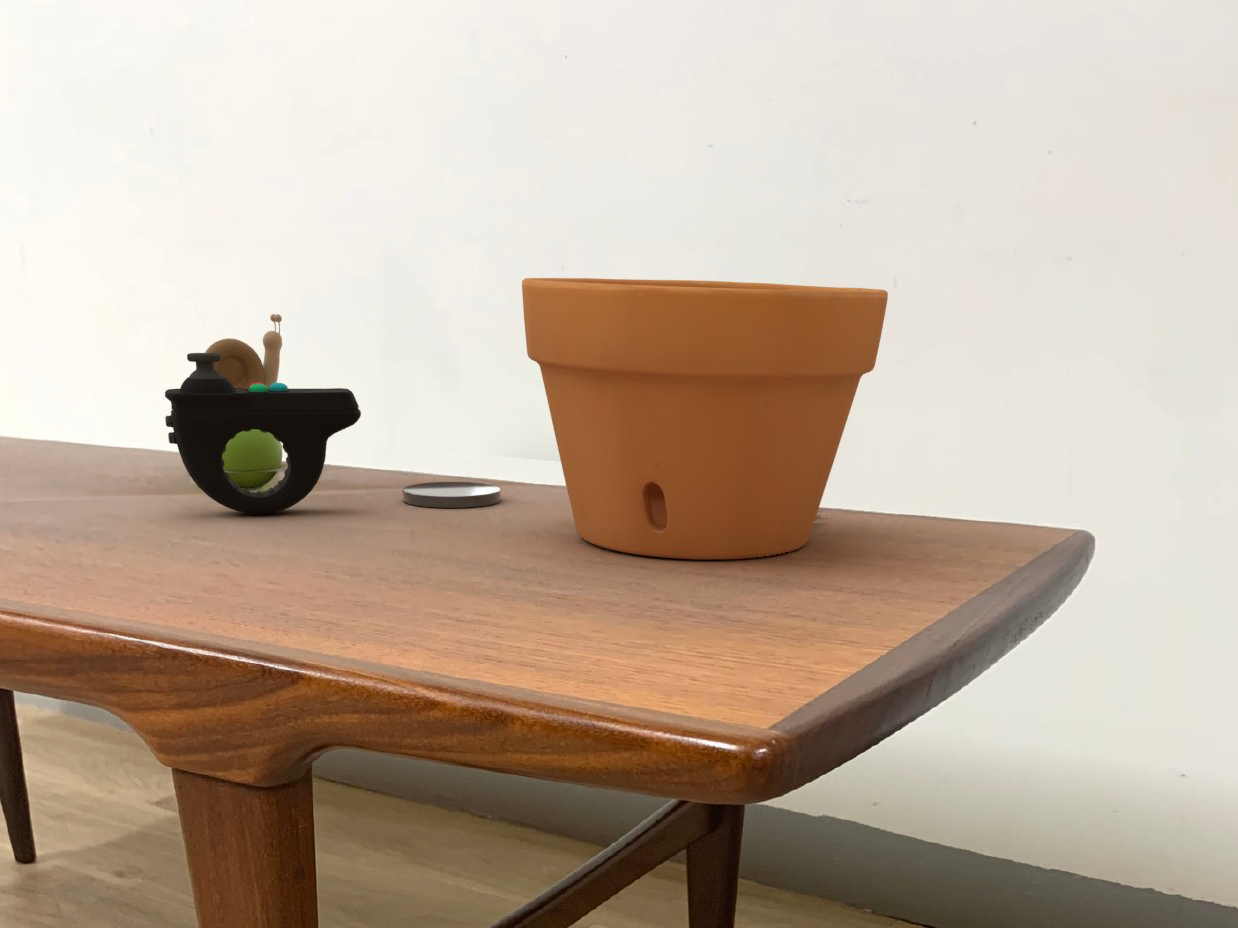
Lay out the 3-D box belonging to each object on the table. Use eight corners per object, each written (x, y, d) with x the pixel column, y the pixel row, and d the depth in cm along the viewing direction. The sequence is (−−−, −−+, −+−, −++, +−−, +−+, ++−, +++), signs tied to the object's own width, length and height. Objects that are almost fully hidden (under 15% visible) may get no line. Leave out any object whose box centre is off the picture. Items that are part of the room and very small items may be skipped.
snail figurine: (310, 488, 98) (296, 315, 93) (228, 496, 94) (209, 315, 89) (277, 480, 101) (262, 312, 97) (197, 486, 98) (178, 313, 93)
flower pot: (930, 541, 83) (957, 285, 77) (721, 592, 68) (735, 282, 62) (676, 500, 95) (682, 279, 90) (455, 536, 81) (445, 275, 75)
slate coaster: (410, 509, 90) (410, 497, 90) (396, 494, 96) (395, 483, 96) (510, 506, 92) (510, 494, 92) (489, 491, 98) (489, 480, 98)
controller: (177, 510, 88) (157, 351, 84) (362, 504, 92) (352, 351, 88) (177, 521, 84) (157, 355, 80) (370, 514, 88) (360, 355, 84)
